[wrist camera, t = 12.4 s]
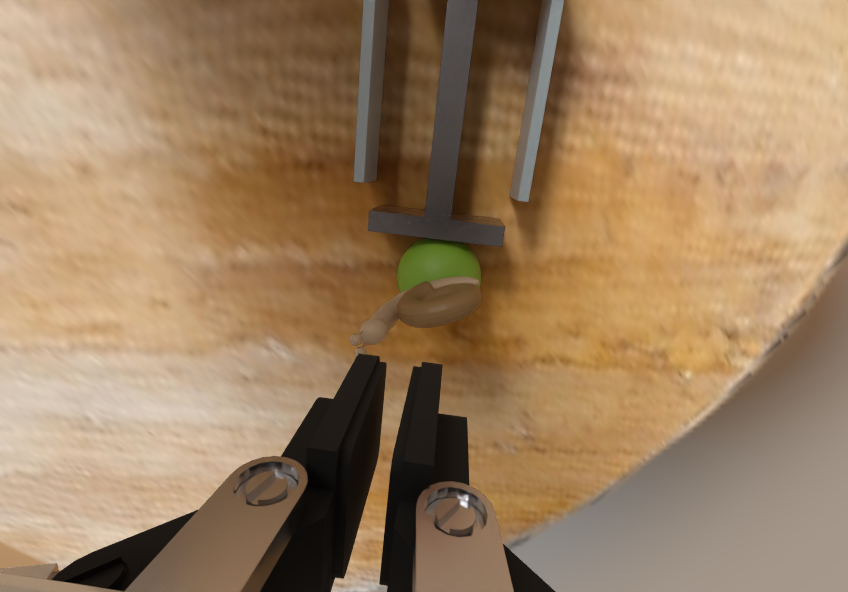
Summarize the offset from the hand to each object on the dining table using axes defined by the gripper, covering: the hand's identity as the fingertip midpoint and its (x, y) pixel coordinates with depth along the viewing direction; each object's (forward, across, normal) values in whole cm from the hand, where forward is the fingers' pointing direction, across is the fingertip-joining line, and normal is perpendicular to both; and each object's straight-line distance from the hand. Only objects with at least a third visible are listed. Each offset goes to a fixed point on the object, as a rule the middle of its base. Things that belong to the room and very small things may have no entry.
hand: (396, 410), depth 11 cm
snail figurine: (+20, 0, +1) cm, 20 cm away
